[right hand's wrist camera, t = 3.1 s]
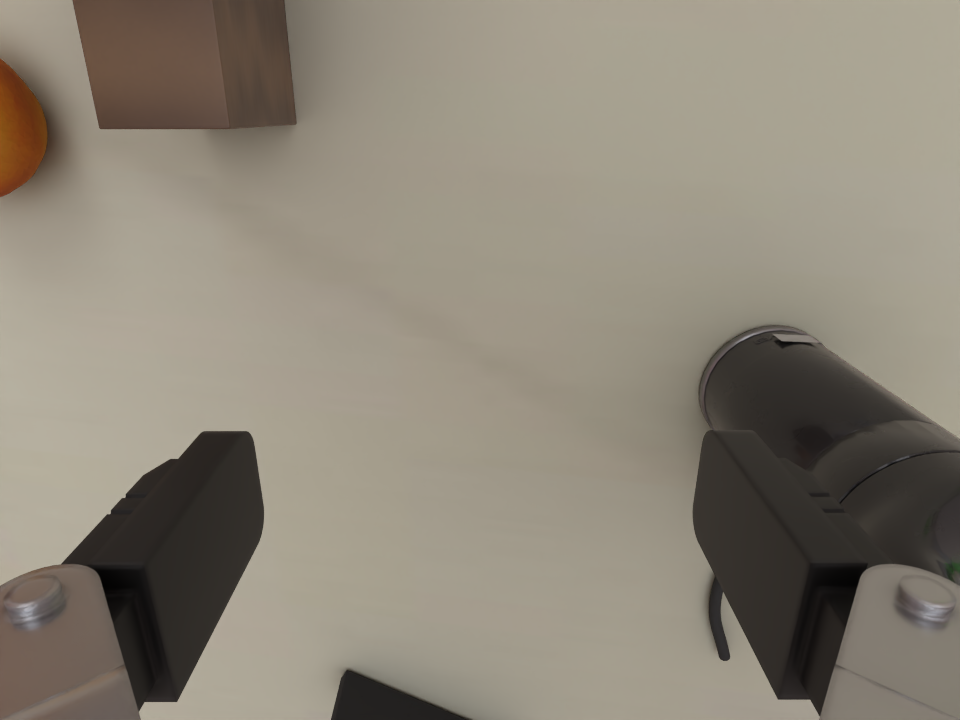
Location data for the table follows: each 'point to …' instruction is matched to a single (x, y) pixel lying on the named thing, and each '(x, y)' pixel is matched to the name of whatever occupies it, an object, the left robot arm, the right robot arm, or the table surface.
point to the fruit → (19, 131)
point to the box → (187, 63)
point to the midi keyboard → (380, 703)
